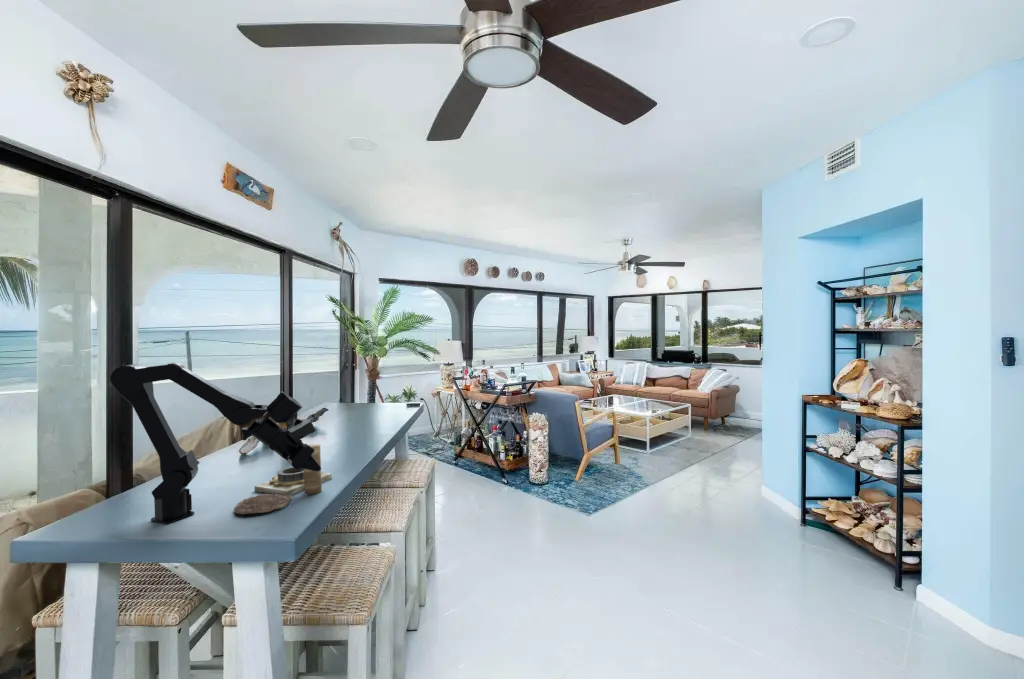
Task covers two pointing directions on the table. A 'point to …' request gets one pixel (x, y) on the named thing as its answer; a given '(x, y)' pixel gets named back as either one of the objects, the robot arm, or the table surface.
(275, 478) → the gear board
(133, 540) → the table surface
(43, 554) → the table surface
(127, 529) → the table surface
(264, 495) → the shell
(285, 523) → the table surface
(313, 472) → the oak axle
